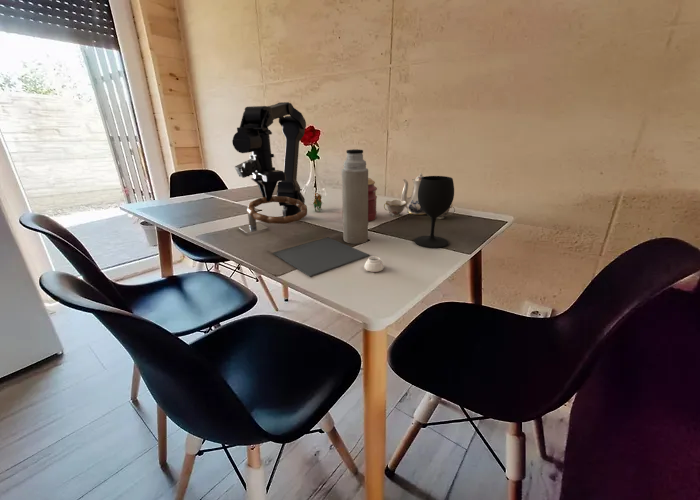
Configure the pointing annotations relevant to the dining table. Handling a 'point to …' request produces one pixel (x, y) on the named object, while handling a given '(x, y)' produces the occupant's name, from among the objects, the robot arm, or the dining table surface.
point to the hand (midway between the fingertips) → (267, 200)
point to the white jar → (374, 264)
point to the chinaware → (410, 201)
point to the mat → (320, 256)
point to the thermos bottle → (355, 198)
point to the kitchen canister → (371, 200)
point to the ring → (277, 219)
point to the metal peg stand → (252, 225)
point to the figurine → (317, 202)
